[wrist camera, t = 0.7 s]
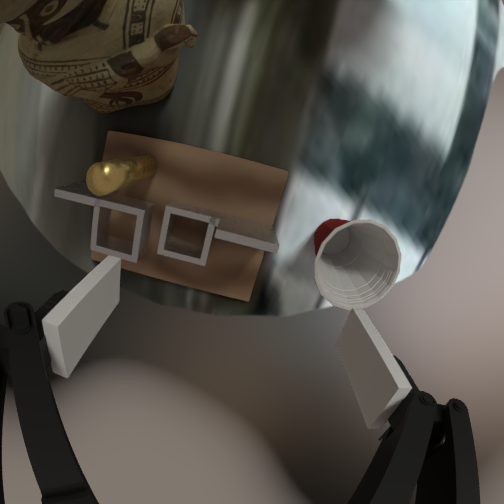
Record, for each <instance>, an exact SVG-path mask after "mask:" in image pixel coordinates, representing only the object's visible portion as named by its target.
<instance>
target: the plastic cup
mask: <svg viewBox="0 0 504 504" xmlns="http://www.w3.org/2000/svg"><path fill="white" fill-rule="evenodd" d="M314 244H315V253H316V259H315V282H316V284H317V286H318V289H319V291H320V293H321V295H322V296H323V297H324V298H325V299H326V300H327V301H329V302H330V303H331V304H332V305H333V306H336V307H340V308H343V309H347V310H352V308H357V309H363V308H366V307H368V306H370V305H372V304H374V303H376V302H378V301H380V300H381V299H382V298H383V297H384V296H385V295H386V294H387V293H388V292H389V291H390V290H391V289H392V287H393V285H394V283H395V281H396V279H397V277H398V274H399V272H400V263H401V252H400V249H399V245H398V242H397V239H396V238H395V236H394V235H393V234H392V233H391V232H390V231H389V229H388V228H387V227H386V226H384V225H382V224H379V223H377V222H375V221H373V220H352V221H347V220H341V219H329V220H327V221H325V222H323V223H322V224H321V225H320V226H319V227H318V228H317V231H316V233H315V236H314Z"/></svg>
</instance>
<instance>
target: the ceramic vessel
mask: <svg viewBox="0 0 504 504" xmlns="http://www.w3.org/2000/svg"><path fill="white" fill-rule="evenodd" d="M1 23H7V24H9V25H10V26H12V27H13V28H14V29H15V30H16V31H17V32H18V33H19V36H18V51H19V55H20V58H21V60H22V62H23V64H24V66H25V68H26V69H27V71H28V72H29V73H30V75H31V76H33V77H34V78H36V79H38V80H40V81H41V82H43V83H44V84H46V85H47V86H49V87H50V88H51V89H53V90H55V91H57V92H59V93H61V94H62V95H65V96H74V97H79V98H82V99H83V101H84V102H85V103H86V104H87V105H88V106H89V107H90V108H91V109H93V110H94V111H96V112H99V113H111V112H114V111H118V110H121V109H124V108H127V107H132V106H137V105H145V104H152V103H155V102H158V101H160V100H162V99H163V98H165V97H166V96H167V95H168V94H169V93H170V92H171V91H172V89H173V87H174V84H175V81H176V77H177V72H178V67H179V57H180V47H181V46H184V45H186V46H188V47H190V48H192V47H194V45H195V43H196V40H197V36H198V34H197V32H196V31H195V29H194V28H193V27H192V26H191V25H185V18H184V5H183V0H0V24H1Z"/></svg>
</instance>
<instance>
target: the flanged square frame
mask: <svg viewBox="0 0 504 504" xmlns="http://www.w3.org/2000/svg"><path fill="white" fill-rule="evenodd" d="M54 196H55V197H59V198H63V199H67V200H71V201H75V202H79V203H83V204H87V205H91V206H94V212H93V222H92V233H91V246H90V250H93V251H97V252H100V253H103V254H107V255H110V256H114V257H118V258H121V259H124V260H128V261H131V262H135V263H137V262H138V261H139V260H140V259H141V258H142V257H143V255H144V254H145V253H146V251H147V245H148V238H149V232H150V226H151V221H152V215H153V209H154V203H150V202H146V201H142V200H138V199H133V198H129V197H125V196H121V195H117V190H116V191H114V192H111V193H109V194H107V195H104V196H97V195H94V194H93V193H92V192H91V191H90V190H89V189H88V186H87V183H86V180H82V181H78V182H75V183H72V184H68V185H65V186H62V187H59V188H55V193H54ZM112 209H114V210H118V211H122V212H126V213H130V214H133V215H137V220H136V227H135V234H134V241H133V242H129V241H125V240H122V239H118V238H114V237H111V236H108V235H109V226H110V218H111V210H112Z"/></svg>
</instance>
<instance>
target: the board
mask: <svg viewBox="0 0 504 504" xmlns="http://www.w3.org/2000/svg"><path fill="white" fill-rule="evenodd" d="M144 155H150V156H153V157H154V158H155V159H156V161H157V163H158V169H157V172H156V174H155V175H154V176H152V177H150V178H148V179H145V180H142V181H139V182H137V183H134V184H132V185H129V186H126V187H124V188H121V189H119V190H117V195H121V196H125V197H129V198H133V199H138V200H142V201H146V202H150V203H154V209H153V215H152V221H151V226H150V232H149V238H148V245H147V251H146V253H145V254H144V255H143V257H142V258H141V259H140V260H139V261H138V262H137V263H135V262H131V261H128V260H124V259H121V268H123V269H126V270H129V271H133V272H136V273H140V274H143V275H147V276H150V277H154V278H158V279H161V280H165V281H169V282H172V283H176V284H180V285H184V286H187V287H191V288H195V289H199V290H203V291H207V292H211V293H215V294H219V295H223V296H227V297H231V298H235V299H240V300H244V301H248V302H249V299H250V296H251V293H252V290H253V286H254V283H255V280H256V277H257V274H258V271H259V268H260V264H261V261H262V258H263V255H264V252H265V250H261V249H257V248H253V247H249V246H245V245H242V244H238V243H234V242H230V241H226V240H222V239H218V238H214V237H215V233H216V229H217V226H216V227H215V231H214V235H213V239H212V243H211V247H210V251H209V255H208V259H207V262H206V265H205V266H202V265H199V264H195V263H191V262H187V261H183V260H179V259H176V258H172V257H168V256H164V255H160V254H157V251H158V245H159V239H160V234H161V228H162V223H163V218H164V213H165V208H166V205H167V204H168V203H170V202H171V201H172V200H175V201H179V202H184V203H188V204H192V205H196V206H200V207H204V208H207V209H211V210H215V211H219V212H223V213H227V214H231V215H235V216H238V217H242V218H246V219H250V220H253V221H257V222H261V223H265V224H268V225H272V226H273V223H274V220H275V217H276V214H277V210H278V207H279V204H280V201H281V197H282V194H283V191H284V188H285V184H286V181H287V178H288V175H289V172H288V171H285V170H282V169H279V168H275V167H272V166H269V165H265V164H261V163H258V162H254V161H251V160H247V159H243V158H240V157H236V156H232V155H228V154H224V153H220V152H216V151H212V150H208V149H203V148H199V147H195V146H190V145H186V144H181V143H176V142H172V141H167V140H162V139H157V138H151V137H146V136H140V135H135V134H129V133H123V132H117V131H108V134H107V139H106V143H105V148H104V153H103V159H102V162H103V161H109V160H115V159H122V158H129V157H136V156H144ZM136 220H137V215H133V214H130V213H126V212H122V211H118V210H114V209H112V210H111V218H110V226H109V235H108V236H111V237H114V238H118V239H122V240H125V241H129V242H133V241H134V234H135V227H136ZM208 225H209V223H208V222H204V221H200V220H196V219H192V218H188V217H184V216H180V215H176V216H175V220H174V225H173V230H172V235H171V241H175V242H179V243H182V244H186V245H190V246H194V247H198V248H202V249H203V246H204V242H205V237H206V233H207V229H208ZM107 256H109V255H107V254H103V253H100V252H97V251H93V250H91V259H93V260H96V261H99V262H102V261H103V260H104V259H105V258H106V257H107Z"/></svg>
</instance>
